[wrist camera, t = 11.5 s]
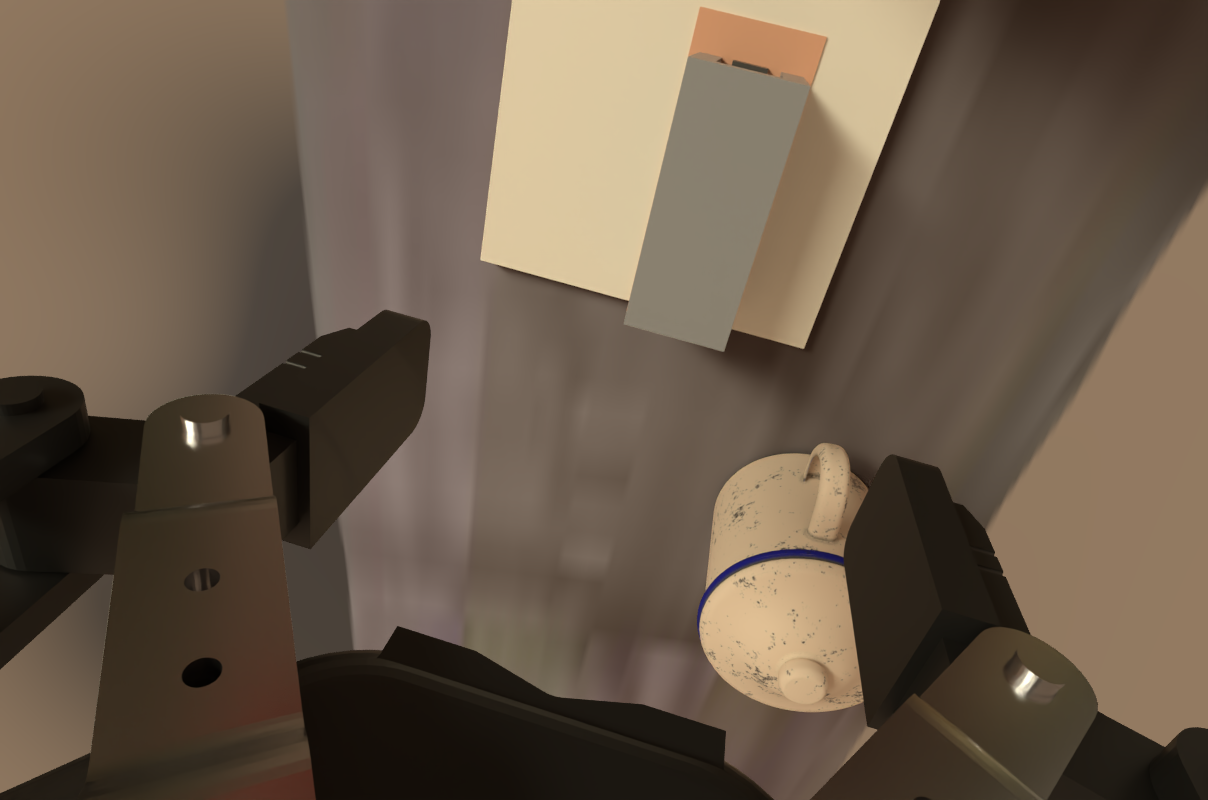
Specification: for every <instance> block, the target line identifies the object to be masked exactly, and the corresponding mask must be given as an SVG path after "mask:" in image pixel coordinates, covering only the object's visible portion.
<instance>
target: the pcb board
mask: <svg viewBox="0 0 1208 800" xmlns="http://www.w3.org/2000/svg"><path fill="white" fill-rule="evenodd" d="M939 3H940V0H512V7H511V15H510V23H509V31H508V39H507V47H506V56H505V64H504V72H503V80H502V88H501V96H500V104H499V113H498V121H497V129H496V137H495V145H494V153H493V162H492V170H491V178H490V186H489V194H488V202H487V210H486V219H485V227H484V235H483V243H482V251H481V259H480V260H482V261H486V262H489V263H493V264H497V265H500V266H504V267H508V268H511V269H515V270H519V271H522V272H526V273H529V274H533V275H537V276H540V277H544V278H548V279H551V280H555V281H558V282H562V283H566V284H569V285H573V286H577V287H580V288H584V289H588V290H591V291H595V292H598V293H602V294H606V295H609V296H613V297H617V298H620V299H624V300H628V301H629V299H630V295H631V291H632V287H633V283H634V278H635V274H636V270H637V266H638V262H639V258H640V253H641V249H642V245H643V241H644V237H645V233H646V229H647V224H648V220H649V216H650V212H651V208H652V204H653V199H654V195H655V191H656V187H657V183H658V179H659V175H660V170H661V166H662V162H663V158H664V154H665V150H666V146H667V141H668V137H669V133H670V129H671V125H672V121H673V116H674V112H675V108H676V104H677V100H678V96H679V92H680V87H681V83H682V79H683V75H684V71H685V67H686V63H687V58H688V56H690V55H693V54H696V53H699V52H702V53H706V54H711V55H715V56H719V57H722V60H721V63H724V64H728V65H732V62H733V60H738V61H742V62H746V63H750V64H754V65H758V66H762V67H766V68H768V73H767V74H769V75H773V76H777V77H780V75H781V72H784V73H788V74H792V75H796V76H801V77H804V78H805V80H806V81H807V82H808V84H809V85H810V86H811V87H810V90H809V94H808V97H807V100H806V103H805V106H804V109H803V112H802V115H801V118H800V121H799V124H798V127H797V130H796V133H795V136H794V139H793V142H792V145H791V149H790V152H789V155H788V158H787V161H786V164H785V167H784V170H783V173H782V176H781V179H780V182H779V185H778V188H777V191H776V194H775V197H774V200H773V204H772V207H771V210H770V213H769V216H768V219H767V222H766V225H765V228H764V231H763V234H762V237H761V240H760V243H759V246H758V249H757V252H756V255H755V258H754V262H753V265H752V268H751V271H750V274H749V277H748V280H747V283H746V286H745V289H744V292H743V295H742V298H741V301H740V304H739V307H738V310H737V313H736V317H735V320H734V323H733V326H732V329H733V330H737V331H740V332H744V333H747V334H751V335H755V336H758V337H762V338H766V339H769V340H773V341H777V342H780V343H784V344H787V345H791V346H795V347H798V348H802V349H804V347H805V345H806V342H807V340H808V337H809V334H810V332H811V329H812V327H813V324H814V322H815V319H816V317H817V314H818V312H819V309H820V306H821V304H822V301H823V299H824V296H825V294H826V291H827V289H828V286H829V283H830V281H831V278H832V276H833V273H834V271H835V268H836V266H837V263H838V260H839V258H840V255H841V253H842V250H843V248H844V245H845V243H846V240H847V237H848V235H849V232H850V230H851V227H852V225H853V222H854V220H855V217H856V215H857V212H858V209H859V207H860V204H861V202H862V199H863V197H864V194H865V192H866V189H867V186H868V184H869V181H870V179H871V176H872V174H873V171H874V169H875V166H876V163H877V161H878V158H879V156H880V153H881V151H882V148H883V146H884V143H885V141H886V138H887V135H888V133H889V130H890V128H891V125H892V123H893V120H894V118H895V115H896V112H897V110H898V107H899V105H900V102H901V100H902V97H903V95H904V92H905V89H906V87H907V84H908V82H909V79H910V77H911V74H912V72H913V69H914V66H915V64H916V61H917V59H918V56H919V54H920V51H921V49H922V46H923V44H924V41H925V38H926V36H927V33H928V31H929V28H930V26H931V23H932V21H933V18H934V15H935V13H936V10H937V8H938V5H939Z"/></svg>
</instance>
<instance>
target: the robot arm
mask: <svg viewBox="0 0 1208 800" xmlns="http://www.w3.org/2000/svg"><path fill="white" fill-rule="evenodd" d="M430 337H431V330H430V325H429V323H428V322H427V321H425V320H421V319H418V318H414V317H411V316H407V315H403V314H400V313H396V312H393V311H389V310H383V311H382V312H380V313H379V314H378V315H376V316H375V317H373V318H372V319H371V320H369V321H368V322H367V323H365V324H364V325H363V326H361V327H360V328H359V329H357V330H355V329H352V328H347V329H343V330H340V331H337V332H333V333H330V334H327V335H323V336H321V337H319V338H318V339H316V340H315V341H314V342H312V343H311V344H309V345H308V346H306V347H305V348H304V349H302V352H301V353H300V352H298V353H296V354H295V355H293V356H292V357H291V358H289V359H288V360H287V361H286V364H283V363H282V364H281V365H279V366H278V367H276V368H275V369H273V370H272V371H271V372H269V373H268V374H266V375H265V376H263V377H262V378H261V379H259V380H258V381H256V382H255V383H253V384H252V385H250V386H249V387H248V388H246V389H245V390H243V391H242V392H240V393H239V394H238V395H236V396H229V395H223V394H202V395H193V396H188V397H184V398H179V399H176V400H173V401H170V402H168V403H166V404H164V405H162V406H160V407H158V408H157V409H156V410H154V411H153V412H152V413H151V414H150V415H149V416H148V417H147V419H146V420H145V421H144V420H132V419H120V418H108V417H96V416H88V414H87V409H86V404H85V398H84V395H83V392H82V390H81V389H80V388H79V387H78V386H76V385H75V384H73V383H71V382H69V381H66V380H63V379H59V378H54V377H46V376H17V377H8V378H2V379H0V669H1V668H2V667H3V666H4V665H6V664H7V663H8V662H9V661H10V660H11V659H12V658H13V657H14V656H15V655H16V654H18V653H19V652H20V651H21V650H22V649H23V648H24V647H25V646H26V645H27V644H28V643H30V642H31V641H32V640H33V639H34V638H35V637H36V636H37V635H38V634H40V632H42V631H43V630H44V629H45V628H46V627H47V626H48V625H49V624H51V623H52V622H53V621H54V620H55V619H56V618H57V617H58V616H59V615H60V614H61V613H63V612H64V611H65V610H66V609H67V608H68V607H69V606H70V605H71V604H72V603H73V602H75V601H76V600H77V599H78V598H79V597H80V596H81V595H82V594H83V593H84V592H86V590H88V589H89V588H90V587H91V586H92V585H93V584H94V583H95V582H97V581H98V580H99V579H100V578H101V577H102V576H103V575H104V574H113V575H114V576H113V585H112V592H111V599H110V607H109V615H108V622H107V630H106V638H105V645H104V653H103V661H102V669H101V676H100V684H99V692H98V699H97V707H96V714H95V722H94V730H93V737H92V745H91V753H89V754H87V755H85V756H82V757H80V758H78V759H76V760H73V761H71V762H69V763H67V764H64V765H62V766H60V767H58V768H56V769H53V770H51V771H49V772H47V773H45V774H42V775H40V776H38V777H36V778H33V779H31V780H29V781H27V782H24V783H22V784H20V785H18V786H16V787H13V788H11V789H9V790H7V791H4V792H2V793H0V800H774V799H773V798H772V797H771V796H770V795H769V794H767V793H766V792H765V791H764V790H763V789H762V788H761V787H760V786H759V785H757V784H756V783H755V782H754V781H753V780H751V779H750V778H749V777H747V776H746V775H745V774H743V773H742V772H741V771H739V770H738V769H737V768H735V767H734V766H732V765H730V764H729V763H727V762H725V761H724V754H725V737H726V731H724V730H721V729H718V728H715V727H712V726H709V725H705V724H702V723H699V722H696V721H693V720H690V719H687V718H684V717H680V716H677V715H674V714H671V713H668V712H665V711H662V710H659V709H655V708H652V707H649V706H646V705H643V704H631V703H619V702H607V701H595V700H583V699H571V698H560V697H555V696H552V695H549V694H547V693H545V692H543V691H542V690H540V689H538V688H537V687H535V686H533V685H532V684H530V683H528V682H527V681H525V680H523V679H522V678H520V677H518V676H517V675H515V674H513V673H512V672H510V671H508V670H507V669H505V668H503V667H502V666H500V665H498V664H497V663H495V662H493V661H492V660H490V659H488V658H487V657H485V656H483V655H482V654H480V653H478V652H477V651H474V650H471V649H468V648H465V647H462V646H458V645H455V644H452V643H449V642H446V641H443V640H440V639H437V638H433V637H430V636H427V635H424V634H421V633H418V632H415V631H412V630H408V629H405V628H402V627H399V626H397V628H396V629H395V631H394V633H393V634H392V636H391V637H390V639H389V641H388V642H387V644H386V646H385V647H384V649H383V650H350V651H342V652H334V653H328V654H323V655H318V656H314V657H310V658H306V659H303V660H300V661H297V662H296V654H295V646H294V638H293V630H292V621H291V613H290V605H289V596H288V588H287V580H286V572H285V564H284V556H283V547H282V540H283V541H286V542H289V543H293V544H296V545H299V546H302V547H305V548H308V549H311V548H312V547H313V546H314V545H315V543H316V542H317V541H318V540H319V539H320V538H321V536H322V535H323V534H324V533H325V532H326V531H327V530H328V528H329V527H330V526H331V525H332V524H333V523H334V522H335V520H336V519H337V518H338V517H339V516H340V515H341V514H342V512H343V511H344V510H345V509H346V508H347V507H348V506H349V504H350V503H351V502H352V501H353V500H354V499H355V497H356V496H357V495H358V494H359V493H360V492H361V491H362V489H363V488H364V487H365V486H366V485H367V484H368V483H369V481H370V480H371V479H372V478H373V477H374V476H375V475H376V473H377V472H378V471H379V470H380V469H381V468H382V466H383V465H384V464H385V463H386V462H387V461H388V460H389V458H390V457H391V456H392V455H393V454H394V453H395V452H396V450H397V449H398V448H399V447H400V446H401V445H402V444H403V442H404V441H405V440H406V439H407V438H408V437H409V436H410V434H411V433H412V432H413V431H414V429H415V427H416V426H417V424H418V421H419V419H420V417H421V414H422V411H423V407H424V402H425V394H426V383H427V371H428V360H429V349H430ZM994 553H995V551H994V549H993V547H992V545H991V542H990V540H989V538H988V535H987V533H986V531H985V529H984V528H983V527H982V525H981V524H980V523H979V522H978V521H977V520H976V519H975V518H974V517H973V516H972V514H971V513H970V512H969V511H968V510H967V509H966V508H965V507H964V506H963V505H960V504H957V503H953V501H952V499H951V496H950V494H949V491H948V489H947V486H946V483H945V481H944V478H943V476H942V473H941V471H940V469H939V468H938V467H935V466H932V465H928V464H925V463H921V462H918V461H914V460H911V459H907V458H903V457H900V456H896V455H889V456H888V457H887V458H886V459H885V460H884V461H883V463H882V464H881V466H880V468H879V470H878V472H877V474H876V476H875V478H874V480H873V482H872V484H871V486H870V488H869V490H868V492H867V494H866V496H865V498H864V500H863V502H862V504H861V506H860V508H859V510H858V512H857V514H856V516H855V518H854V520H853V522H852V524H851V526H850V529H849V531H848V534H847V538H846V542H845V547H844V568H845V575H846V582H847V589H848V596H849V603H850V610H851V616H852V623H853V630H854V637H855V644H856V651H857V658H858V665H859V672H860V679H861V686H862V693H863V700H864V707H865V714H866V721H867V726H868V727H871V728H874V729H877V731H876V732H875V733H874V734H873V735H872V736H871V737H870V739H869V740H868V741H867V742H866V743H865V744H864V745H863V746H862V747H861V748H860V749H859V750H858V751H857V752H856V753H855V754H854V755H853V756H852V757H851V758H850V759H849V760H848V761H847V762H846V763H845V764H844V765H843V766H842V767H841V768H840V769H839V770H838V771H837V773H836V774H835V775H834V776H833V777H832V778H831V779H830V780H829V781H828V782H827V783H826V784H825V785H824V786H823V787H822V788H821V789H820V790H819V791H818V792H817V793H816V794H815V795H814V796H813V797H812V798H811V799H810V800H1208V729H1205V728H1198V727H1197V728H1196V727H1195V728H1187V729H1184V730H1183V731H1181V732H1180V733H1179V734H1178V735H1177V736H1176V737H1175V738H1174V739H1173V740H1172V741H1171V742H1170V743H1169V744H1168V745H1167V746H1166V747H1164V746H1161V745H1160V744H1158V743H1156V742H1154V741H1152V740H1150V739H1148V738H1147V737H1145V736H1143V735H1141V734H1139V733H1137V732H1135V731H1133V730H1132V729H1130V728H1128V727H1126V726H1124V725H1122V724H1120V723H1118V722H1116V721H1115V720H1113V719H1111V718H1109V717H1107V716H1105V715H1104V714H1102V713H1100V712H1099V711H1098V703H1097V699H1096V696H1095V694H1094V691H1093V689H1092V687H1091V686H1090V684H1089V682H1088V681H1087V679H1086V678H1085V677H1084V676H1083V674H1082V673H1081V672H1080V671H1079V670H1078V669H1077V668H1076V666H1075V665H1074V664H1073V663H1071V662H1070V661H1069V660H1068V659H1067V658H1066V657H1065V656H1064V655H1062V654H1061V653H1059V652H1058V651H1057V650H1056V649H1054V648H1052V647H1051V646H1050V645H1048V644H1047V643H1045V642H1043V641H1041V640H1040V639H1038V638H1036V637H1034V636H1032V635H1030V632H1029V630H1028V628H1027V625H1026V623H1025V621H1024V618H1023V616H1022V614H1021V611H1020V609H1019V607H1018V604H1017V602H1016V600H1015V598H1014V595H1013V593H1012V591H1011V589H1010V586H1009V584H1008V581H1007V579H1006V577H1004V576H1002V574H1003V570H1002V568H1001V565H1000V563H999V561H998V558H997V557H995V556H994Z"/></svg>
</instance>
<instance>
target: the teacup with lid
mask: <svg viewBox="0 0 1208 800" xmlns="http://www.w3.org/2000/svg"><path fill="white" fill-rule="evenodd" d="M867 492H868V488H867V487H866V486H865V484H864V483H863V482H862V481H861V480H860V479H859V478H858V477H857V476H856V475H855V474H853V473H852V472H851V471H850V462H849V458H848V455H847V453H846V451H845V450H844V449H843V448H842V447H841V446H838V445H835V444H830V443H821V444H819V445H818V446H817V447H816V448H815V449H814V450H813V452H812V453H811V455H809V454H799V453H787V454H778V455H773V456H769V457H765V458H762V459H759V460H756V461H754V462H752V463H750V464H748V465H747V466H745V467H743V468H742V469H740V470H739V471H738V472H736V473H735V474H734V475H733V476H732V477H731V478H730V479H729V480H728V481H727V482H726V484H725V485H724V487H723V488H722V490H721V492H720V493H719V496H718V498H717V501H716V504H715V509H714V516H713V526H712V535H711V544H710V554H709V563H708V572H707V582H706V591H705V593H704V595H703V597H702V599H701V602H700V605H699V609H698V615H697V627H698V634H699V638H700V641H701V643H702V647H703V649H704V652H705V654H706V656H707V658H708V660H709V661H710V663H711V664H712V666H713V667H714V669H715V670H716V671H717V672H718V673H719V675H720V676H721V677H722V678H723V679H724V680H725V681H727V682H728V683H729V684H730V685H731V686H733V687H734V688H735V689H737V690H738V691H740V692H741V693H743V694H745V695H746V696H748V697H750V698H752V699H754V700H757V701H759V702H761V703H764V704H767V705H770V706H773V707H777V708H781V709H786V710H792V711H801V712H825V711H833V710H839V709H843V708H847V707H851V706H854V705H856V704H859V703H862V702H864V700H863V693H862V686H861V679H860V672H859V665H858V658H857V651H856V644H855V637H854V630H853V623H852V616H851V610H850V603H849V596H848V589H847V582H846V575H845V568H844V547H845V542H846V538H847V534H848V531H849V529H850V526H851V524H852V522H853V520H854V518H855V516H856V514H857V512H858V510H859V508H860V506H861V504H862V502H863V500H864V498H865V496H866V494H867Z"/></svg>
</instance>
